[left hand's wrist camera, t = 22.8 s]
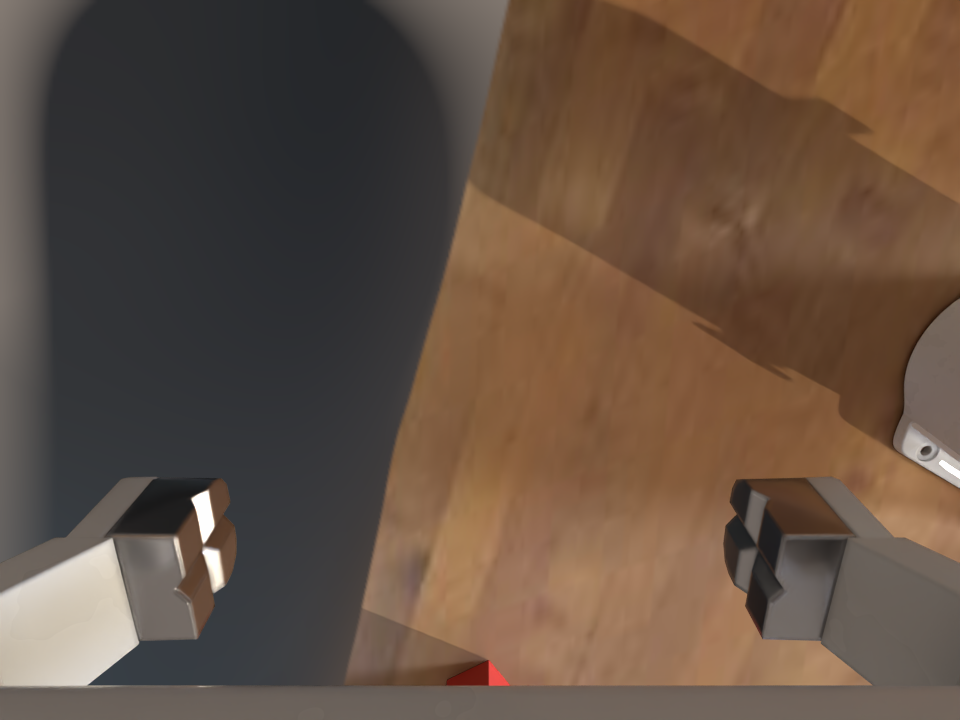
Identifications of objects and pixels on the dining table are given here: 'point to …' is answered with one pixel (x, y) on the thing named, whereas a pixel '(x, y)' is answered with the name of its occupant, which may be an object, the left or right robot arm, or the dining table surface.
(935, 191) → the dining table surface
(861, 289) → the dining table surface
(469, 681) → the brick
